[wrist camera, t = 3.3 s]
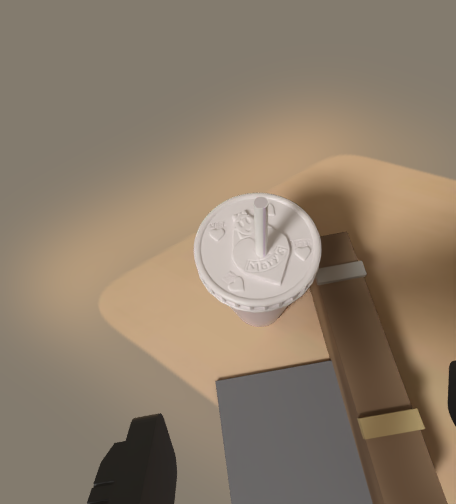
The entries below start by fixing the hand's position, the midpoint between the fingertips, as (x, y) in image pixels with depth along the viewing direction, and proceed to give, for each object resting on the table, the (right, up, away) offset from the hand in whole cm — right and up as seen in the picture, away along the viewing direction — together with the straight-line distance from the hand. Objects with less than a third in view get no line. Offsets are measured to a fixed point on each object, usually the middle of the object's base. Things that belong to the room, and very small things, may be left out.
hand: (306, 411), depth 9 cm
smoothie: (0, 0, +16) cm, 16 cm away
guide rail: (+6, -3, +14) cm, 15 cm away
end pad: (+2, -7, +12) cm, 14 cm away
